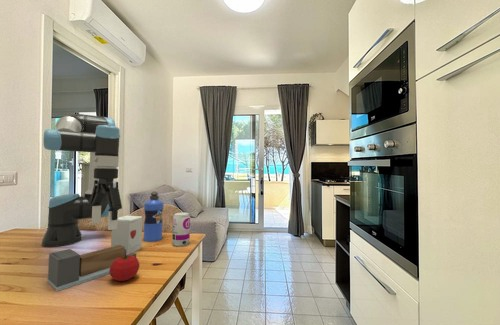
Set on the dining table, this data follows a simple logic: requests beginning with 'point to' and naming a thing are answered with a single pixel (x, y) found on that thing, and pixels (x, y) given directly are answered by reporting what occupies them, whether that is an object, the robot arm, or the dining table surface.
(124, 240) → the supplement box
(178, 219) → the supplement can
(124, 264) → the tomato
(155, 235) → the water bottle
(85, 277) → the board
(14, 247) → the dining table surface
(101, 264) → the walnut slat
